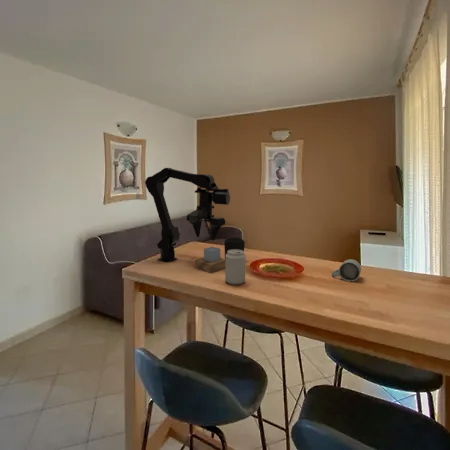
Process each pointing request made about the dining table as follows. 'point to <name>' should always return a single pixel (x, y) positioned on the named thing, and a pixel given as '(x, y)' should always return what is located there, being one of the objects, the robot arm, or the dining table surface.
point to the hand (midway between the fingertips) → (205, 238)
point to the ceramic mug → (348, 270)
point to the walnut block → (210, 265)
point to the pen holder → (233, 244)
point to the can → (235, 267)
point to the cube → (212, 254)
